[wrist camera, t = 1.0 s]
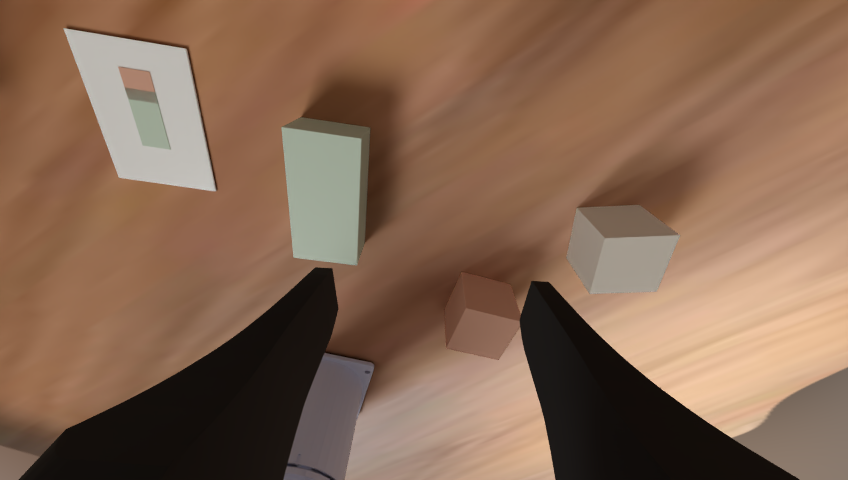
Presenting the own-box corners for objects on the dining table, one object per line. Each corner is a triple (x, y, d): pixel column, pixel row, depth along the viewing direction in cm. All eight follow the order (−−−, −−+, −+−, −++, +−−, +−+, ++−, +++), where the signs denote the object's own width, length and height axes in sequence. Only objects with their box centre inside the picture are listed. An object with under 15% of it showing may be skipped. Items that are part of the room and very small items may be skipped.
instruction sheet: (216, 190, 20) (215, 191, 20) (120, 177, 20) (118, 177, 20) (187, 48, 16) (185, 48, 16) (65, 28, 16) (62, 28, 16)
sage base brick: (365, 241, 23) (356, 265, 20) (309, 233, 22) (293, 257, 20) (371, 126, 18) (361, 138, 16) (302, 116, 18) (281, 127, 16)
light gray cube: (622, 255, 23) (656, 291, 19) (565, 257, 23) (589, 293, 19) (638, 204, 21) (680, 235, 17) (576, 207, 21) (604, 238, 17)
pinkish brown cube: (489, 319, 26) (498, 360, 23) (444, 308, 26) (446, 348, 22) (510, 283, 24) (523, 322, 21) (461, 270, 24) (466, 308, 20)
